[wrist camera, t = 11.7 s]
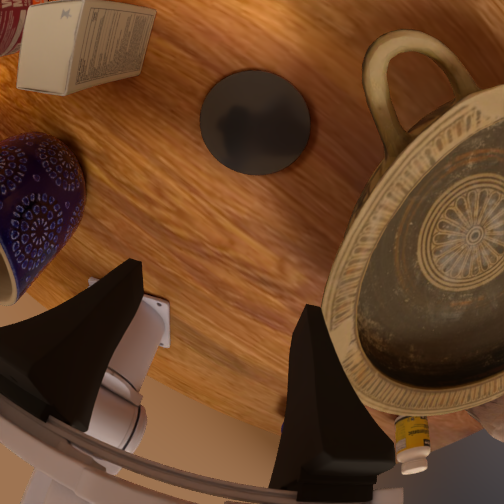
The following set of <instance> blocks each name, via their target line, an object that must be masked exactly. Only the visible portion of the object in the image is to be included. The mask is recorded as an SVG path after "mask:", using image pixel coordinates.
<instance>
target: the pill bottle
mask: <svg viewBox="0 0 504 504" xmlns="http://www.w3.org/2000/svg"><path fill="white" fill-rule="evenodd" d="M45 2H48V0H0V56H4V55H9V54H13V53H18V52H20V47H21V41H22V35H23V30H24V24H25V20H26V15H27V11H28V8H29V6H31V5H35V4H40V3H45Z"/></svg>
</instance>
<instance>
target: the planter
mask: <svg viewBox="0 0 504 504" xmlns="http://www.w3.org/2000/svg"><path fill="white" fill-rule="evenodd" d="M85 201H86V186H85V179H84V175H83V172H82V169H81V166H80V164H79V162H78V160H77V158H76V156H75V155H74V153H73V152H72V151H71V150H70V148H69V147H68V146H67V145H66V144H64V143H63V142H62V141H60V140H59V139H58V138H56V137H54V136H52V135H49V134H46V133H42V132H26V133H21V134H18V135H15V136H12V137H10V138H7V139H5V140H2V141H0V305H4V306H10V305H13V304H15V303H16V302H17V301H18V299H19V298H20V297H21V296H22V295H23V294H24V293H25V292H26V290H27V289H28V288H29V287H30V286H31V285H32V283H33V282H34V281H35V280H36V279H37V278H38V277H39V275H40V274H41V273H42V272H43V271H44V269H45V268H46V267H47V266H48V265H49V264H50V262H51V261H52V260H53V259H54V258H55V257H56V255H57V254H58V253H59V252H60V251H61V249H62V248H63V247H64V246H65V245H66V243H67V242H68V241H69V239H70V238H71V237H72V235H73V234H74V233H75V231H76V229H77V227H78V226H79V224H80V222H81V219H82V216H83V212H84V208H85Z"/></svg>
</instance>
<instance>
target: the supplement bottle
mask: <svg viewBox="0 0 504 504" xmlns="http://www.w3.org/2000/svg"><path fill="white" fill-rule="evenodd" d="M395 434H396V453H397V460H398V461H399V462H402V463H403V465H402V474H413V473H417V472H421V471H423V470H425V469H427V460H426V459H425V457H426V456H428V455H429V453H430V439H429V430H428V422H427V416H401V415H400V416H399V417H397V418H396V420H395Z"/></svg>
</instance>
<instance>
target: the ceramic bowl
mask: <svg viewBox="0 0 504 504" xmlns="http://www.w3.org/2000/svg"><path fill="white" fill-rule="evenodd" d="M408 51H415V52H419V53H421V54H424V55H426V56H428V57H429V58H430V59H432V60H433V61H434V62H435V63H436V64H437V65H438V66H439V67H440V68H441V69H442V70H443V71H444V73H445V74H446V75H447V77H448V79H449V81H450V84H451V86H452V89H453V92H454V96H455V98H454V99H453V100H452V101H450V102H448V103H446V104H444V105H443V106H441V107H439V108H438V109H436V110H435V111H433V112H432V113H430V114H429V115H427V116H425V117H424V118H423V119H422V120H420V121H419V122H418V123H417V124H416V125H414V126H413V127H412V128H411V129H410V130H409V131H408V132H406V131H404V129H403V128H402V126H401V125H400V123H399V121H398V118H397V115H396V112H395V110H394V107H393V104H392V101H391V98H390V93H389V87H388V82H387V76H386V73H387V68H388V64H389V61H390V59H392V58H393V57H394V56H396V55H397V54H399V53H402V52H408ZM362 84H363V88H364V92H365V96H366V100H367V104H368V107H369V109H370V112H371V114H372V117H373V119H374V122H375V124H376V127H377V129H378V132H379V134H380V137H381V139H382V142H383V144H384V154H385V156H384V159H383V160H382V161H381V163H380V164H379V165H378V167H377V168H376V169H375V171H374V172H373V174H372V176H371V177H370V179H369V181H368V182H367V184H366V185H365V187H364V189H363V191H362V193H361V195H360V197H359V199H358V201H357V203H356V205H355V207H354V210H353V212H352V215H351V218H350V221H349V224H348V227H347V229H346V232H345V236H344V240H343V241H342V243H341V245H340V247H339V249H338V251H337V254H336V257H335V260H334V263H333V265H332V268H331V271H330V274H329V277H328V280H327V283H326V286H325V290H324V294H323V299H322V304H321V309H322V313H323V316H324V319H325V323H326V326H327V329H328V332H329V335H330V337H331V340H332V343H333V345H334V348H335V351H336V353H337V355H338V358H339V360H340V362H341V365H342V367H343V369H344V371H345V373H346V375H347V377H348V379H349V381H350V383H351V385H352V387H353V389H354V390H355V392H356V394H357V395H358V397H359V399H360V400H361V402H362V403H363V404H364V405H366V406H368V407H370V408H372V409H375V410H378V411H382V412H386V413H390V414H395V415H401V416H433V415H443V414H448V413H453V412H457V411H461V410H465V409H468V408H472V407H475V406H478V405H481V404H484V403H487V402H489V401H492V400H494V399H497V398H499V397H500V396H502V395H504V84H501V85H497V86H494V87H491V88H488V89H480V88H479V87H478V86H476V84H475V82H474V81H473V79H472V77H471V76H470V74H469V73H468V71H467V70H466V68H465V67H464V66H463V64H462V63H461V62H460V60H459V59H458V58H457V57H456V55H455V54H454V53H453V52H452V51H451V50H450V49H448V48H447V47H446V46H445V45H444V44H443V43H442V42H441V41H439V40H437V39H436V38H434V37H432V36H429V35H427V34H425V33H423V32H421V31H418V30H410V29H400V30H396V31H391V32H389V33H386V34H383V35H382V36H380V37H379V38H378V39H377V40H376V41H374V42H373V43H372V44H371V45H370V46H369V48H368V50H367V52H366V54H365V57H364V60H363V64H362Z"/></svg>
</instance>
